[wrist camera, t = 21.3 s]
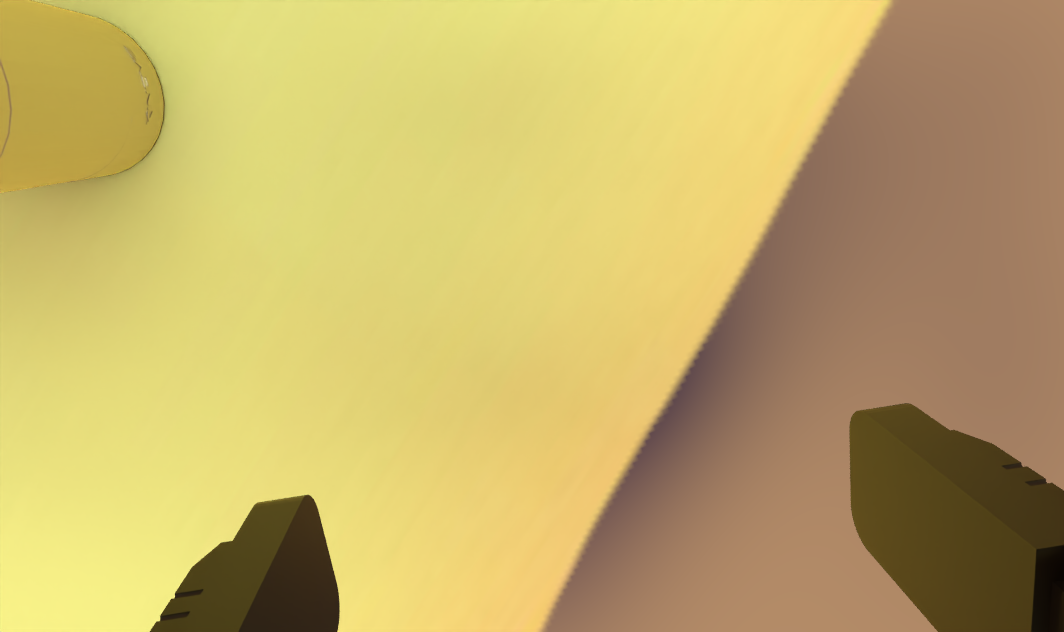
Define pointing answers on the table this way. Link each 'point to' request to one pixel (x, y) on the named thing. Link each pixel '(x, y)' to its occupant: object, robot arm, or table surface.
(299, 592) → the robot arm
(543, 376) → the table surface
